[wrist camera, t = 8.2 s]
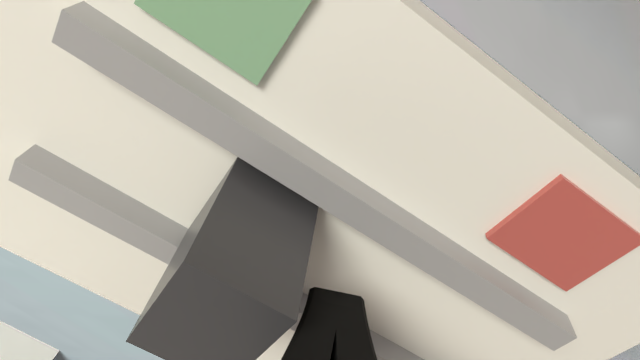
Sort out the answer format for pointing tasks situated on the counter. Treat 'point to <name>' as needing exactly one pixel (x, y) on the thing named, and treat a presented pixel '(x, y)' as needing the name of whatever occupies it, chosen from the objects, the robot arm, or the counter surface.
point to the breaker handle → (232, 273)
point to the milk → (22, 345)
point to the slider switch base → (320, 167)
